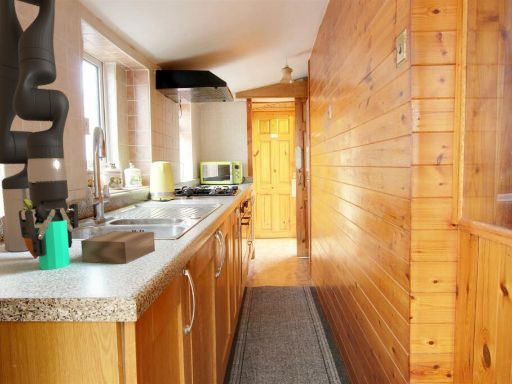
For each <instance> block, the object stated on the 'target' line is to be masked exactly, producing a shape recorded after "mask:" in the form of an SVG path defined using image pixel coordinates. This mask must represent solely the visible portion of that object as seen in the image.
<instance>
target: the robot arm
mask: <svg viewBox="0 0 512 384" xmlns="http://www.w3.org/2000/svg"><path fill="white" fill-rule="evenodd" d="M15 1H16V0H0V165H24V167H23V169H22V170H20V171H19V172H18V173H15V174H13V175H10V176H7V177H4V178H3V179H1V192H2V200H3V201H2V202H3V211H4V215H3V216H2V228H3V239H4V250H7V251H8V252H25V251H29V250H28V248H27V246H26V244H25V241H24V238H29V239H31V240H32V247H33V253H34V254H35V256H38V257H39V256H40V257H41V256H44V255H45V245H44V239H42V238H43V236H44V234H45V231H46V230H47V229H48V228H49V223H50V222H56V221H62V220H63V221H64V220H67V233H68V246H69V249H70V248H72V246H73V238H72V237H73V236H72V235H73V233H72V232H73V230H74V229H77V228H78V227H79V207H78V205H79V204H78V203H75V202H74V203H71V202H70V203H69V202H68V203H67V200H68V198H69V188H68V187H69V186H68V185H69V184H68V175H67V173H68V172H67V166H66V161H65V153H64V132H65V126H66V122H67V118H68V114H69V110H70V101H69V99H68V97H67V95H66V94H65V93H64V92H63V91H61V90H59V89H51V88H50V89H48V88H47V89H46V88H39V87H41V86H48V85H52V84H53V83H55V81H56V80H57V65H56V58H55V49H54V48H55V47H54V46H55V45H54V33H55V17H56V15H55V13H56V11H55V10H56V0H17V1H19V2H21V3H25V4H27V5H32V6H36V7H38V8H39V9H38V10H39V11H38V13H37V15H36V17H35V18H34V19H33V21H32V22H31V23H30V24H29V25H28V26H27V27H26V29H24V30H23V27H22V25H21V22H20V20H19V17H18V15H17V10H16V5H15ZM16 117H18V119H21V120H23V121H28V122H29V121H30V122H52V124H51V126H50V127H49V128H47V129H44V130H39V131H26V130H11V129H12V124H13V122H14V120H15V118H16ZM24 199H27V200H28V202H29V203H30V204H31V201H32V203H33V206H32V209H30V210H24V209H23V207H26V208H27V206H26V205H25V204H24V202H23V200H24ZM31 205H32V204H31ZM27 209H28V208H27ZM34 218H35V219H34ZM37 223H43V224H42V225H37ZM38 231H39V232H38Z"/></svg>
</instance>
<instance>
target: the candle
mask: <svg viewBox="0 0 512 384" xmlns="http://www.w3.org/2000/svg"><path fill="white" fill-rule="evenodd" d="M42 224H43V223H37V225H42ZM38 232H39V231H38ZM42 239H44V245H45V255H44V256H41V257H40V256H38V264H39V269H41V270H44V271H45V270H56V269H60V268H65V267H66V266H69V265H70V263H71V262H70V250H69V249H70V248H69V246H68V233H67V220H64V221H63V220H62V221H56V222H50V223H49V228H48V229H47V230H46V231H45V234H44V236H43V238H42Z"/></svg>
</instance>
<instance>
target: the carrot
mask: <svg viewBox="0 0 512 384" xmlns="http://www.w3.org/2000/svg"><path fill="white" fill-rule="evenodd" d="M23 202H24V204H25V205H26V206H27V208H28V209H27V208H26V207H23V209H24V210H30V209H32V206H33V203H32V201H31V204H32V205H31V204H30V203H29V202H28V200H27V199H24V200H23ZM34 219H35V218H34ZM24 241H25V244H26V246H27V248H28V250H27V251H28V252H29V253H30V255H31V256H32V257H33V258H34V259H37V258H39V256H35V254H34V253H33V247H32V240H31V239H29V238H24Z"/></svg>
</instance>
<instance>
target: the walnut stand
mask: <svg viewBox="0 0 512 384" xmlns="http://www.w3.org/2000/svg"><path fill="white" fill-rule="evenodd" d="M80 245H81V258H82V260H81V261H82V262H84V263H87V262H88V263H102V264H103V263H106V264H107V263H108V264H129V263H130V262H133V261H135V260H137V259H140V258H142V257H144V256H147V255H149V254H151V253H153V252H156V249H155V248H156V246H155V232H154V231H134V230H133V231H130V230H129V231H127V230H126V231H123V230H113V231H111V232H107V233H103V234H100V235H96V236H93V237H89V238H86V239H82V240H80Z"/></svg>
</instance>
